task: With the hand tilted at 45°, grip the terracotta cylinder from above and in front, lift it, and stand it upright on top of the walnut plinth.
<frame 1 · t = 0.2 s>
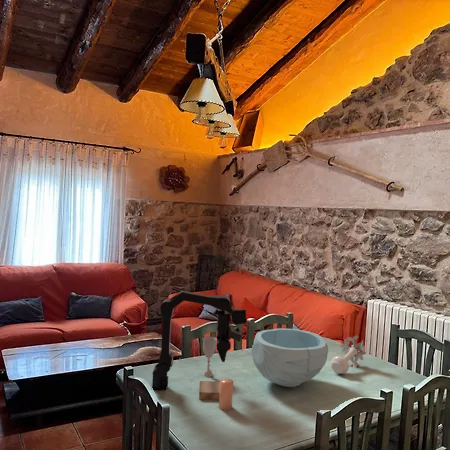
hand: (223, 358, 195), 14 cm above the table, tool pointing down, fingers open, 9 cm apart
bowl: (287, 384, 206), on the table
flower vase: (347, 369, 229), on the table
walnut plinth: (212, 393, 191), on the table
terracotta cylinder: (225, 407, 179), on the table
chalice: (208, 375, 212), on the table
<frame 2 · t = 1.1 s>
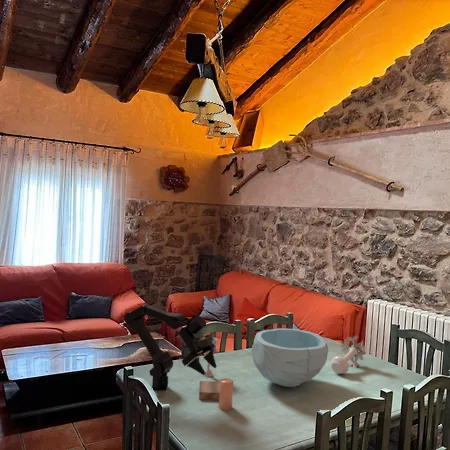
hand: (210, 371, 182), 13 cm above the table, tool tilted 45°, fingers open, 9 cm apart
nothing on the table moved.
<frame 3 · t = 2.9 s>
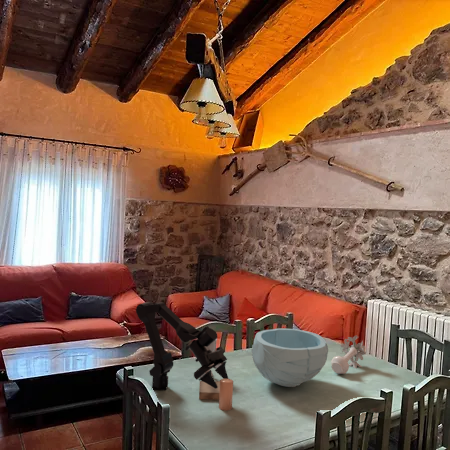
hand: (222, 384, 179), 9 cm above the table, tool tilted 45°, fingers open, 9 cm apart
nothing on the table moved.
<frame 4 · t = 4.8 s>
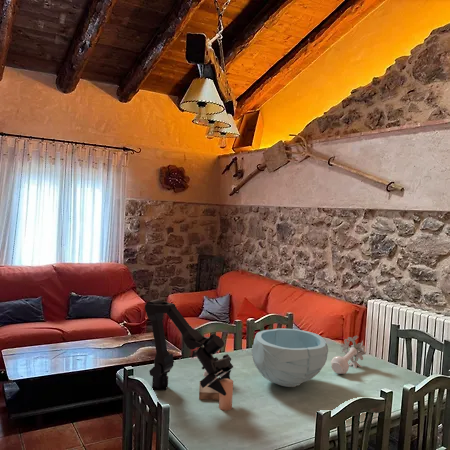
hand: (229, 392, 178), 7 cm above the table, tool tilted 45°, fingers closed on terracotta cylinder, 5 cm apart
terracotta cylinder: (225, 407, 179), on the table, touching gripper
everything else where it was.
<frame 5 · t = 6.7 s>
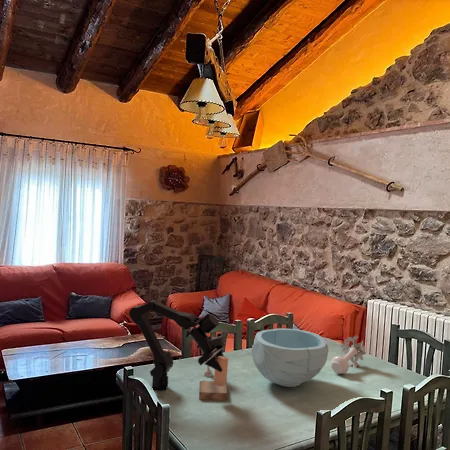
hand: (224, 369, 185), 14 cm above the table, tool tilted 45°, fingers closed on terracotta cylinder, 5 cm apart
terracotta cylinder: (220, 383, 185), point 7 cm above the table, touching gripper
everything else where it was.
when the fingers open (10 cm above the table, at t = 8.7 s): terracotta cylinder stays where it is, resting on walnut plinth.
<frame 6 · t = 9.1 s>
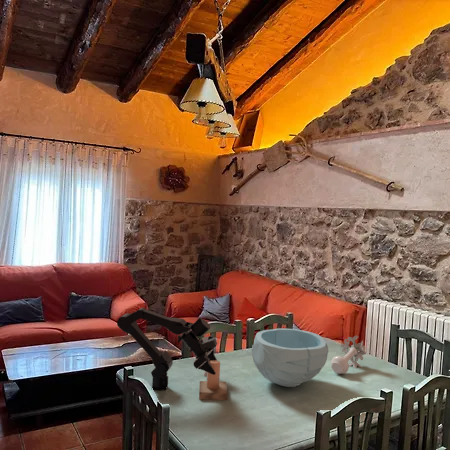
hand: (216, 370, 191), 11 cm above the table, tool tilted 45°, fingers open, 9 cm apart
terracotta cylinder: (212, 386, 191), point 3 cm above the table, touching walnut plinth
everything else where it was.
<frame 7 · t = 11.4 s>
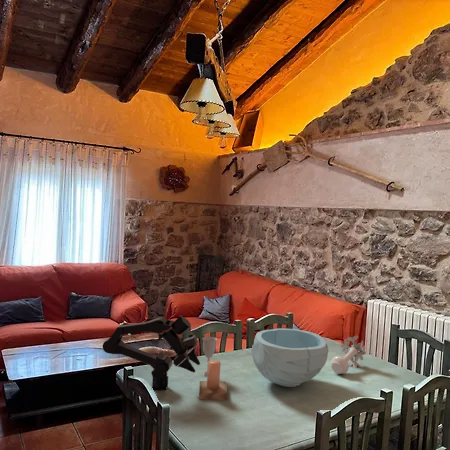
hand: (197, 368, 192), 11 cm above the table, tool tilted 45°, fingers open, 9 cm apart
nothing on the table moved.
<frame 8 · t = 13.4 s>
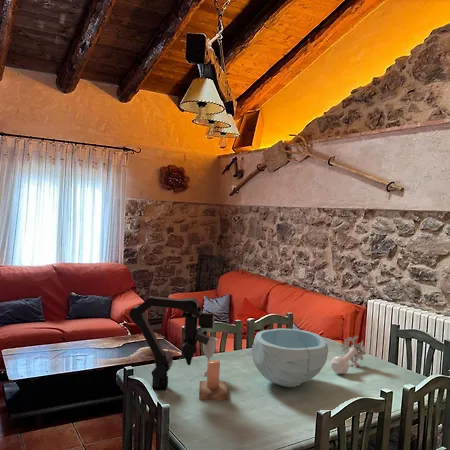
hand: (189, 361, 193), 13 cm above the table, tool pointing down, fingers open, 9 cm apart
nothing on the table moved.
at the end: terracotta cylinder 0.1 cm off-centre on the walnut plinth, point 3.1 cm above the walnut plinth's base; terracotta cylinder tilted 1°; the gripper is holding nothing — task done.
